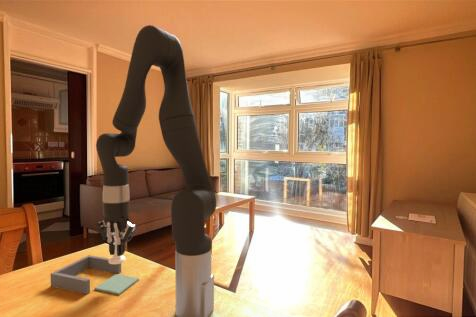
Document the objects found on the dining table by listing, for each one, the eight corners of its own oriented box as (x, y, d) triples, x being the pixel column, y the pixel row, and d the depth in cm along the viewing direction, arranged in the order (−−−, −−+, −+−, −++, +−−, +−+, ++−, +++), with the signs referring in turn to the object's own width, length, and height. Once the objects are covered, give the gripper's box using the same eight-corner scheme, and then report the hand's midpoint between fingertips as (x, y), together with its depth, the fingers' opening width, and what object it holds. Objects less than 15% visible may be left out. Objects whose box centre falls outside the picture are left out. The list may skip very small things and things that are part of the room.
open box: (121, 271, 94) (121, 260, 93) (86, 294, 80) (86, 281, 80) (89, 265, 98) (88, 255, 97) (50, 286, 84) (50, 273, 84)
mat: (139, 280, 88) (139, 278, 88) (119, 295, 80) (119, 293, 80) (116, 275, 91) (116, 273, 91) (94, 289, 82) (94, 287, 82)
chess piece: (119, 265, 82) (118, 232, 81) (104, 263, 83) (104, 231, 82) (128, 258, 87) (128, 227, 86) (115, 256, 88) (114, 226, 87)
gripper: (143, 198, 85) (143, 252, 86) (107, 195, 89) (107, 247, 90) (127, 203, 78) (127, 263, 79) (88, 199, 82) (89, 256, 83)
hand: (116, 254), depth 85 cm, fingers closed on chess piece
